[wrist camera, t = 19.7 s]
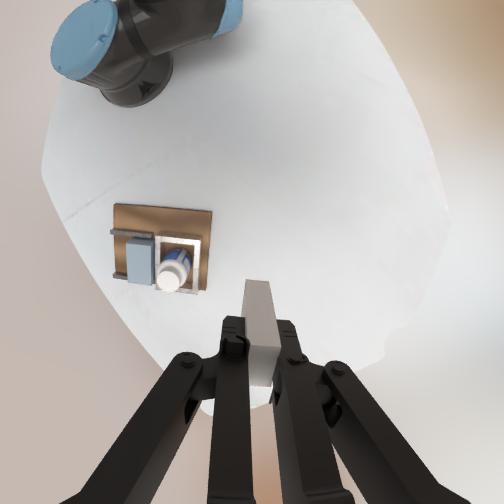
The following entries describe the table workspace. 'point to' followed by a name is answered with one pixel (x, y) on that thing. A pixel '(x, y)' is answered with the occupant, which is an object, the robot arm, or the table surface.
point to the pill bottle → (174, 269)
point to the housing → (141, 260)
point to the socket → (197, 241)
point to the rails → (129, 233)
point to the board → (165, 222)
